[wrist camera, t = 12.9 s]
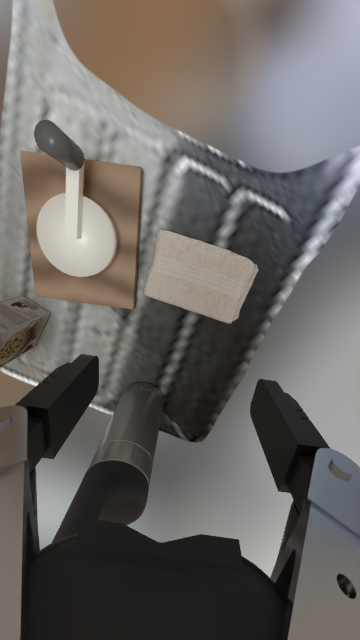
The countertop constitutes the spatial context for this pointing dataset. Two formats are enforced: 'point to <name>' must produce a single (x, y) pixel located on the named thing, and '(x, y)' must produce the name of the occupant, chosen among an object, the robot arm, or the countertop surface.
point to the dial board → (117, 200)
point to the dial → (73, 213)
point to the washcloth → (199, 276)
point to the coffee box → (19, 327)
